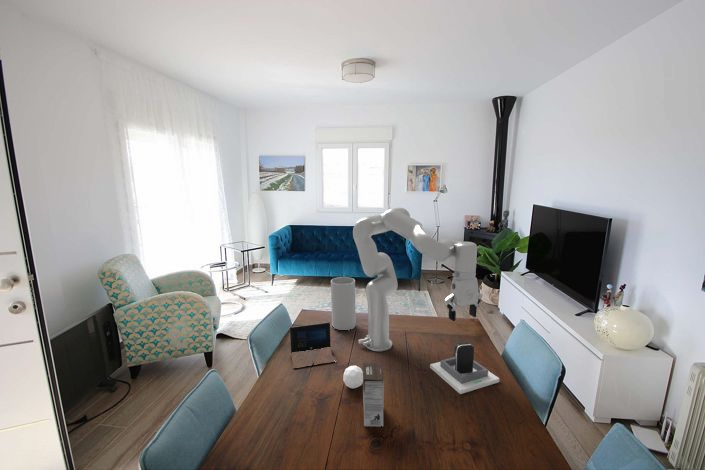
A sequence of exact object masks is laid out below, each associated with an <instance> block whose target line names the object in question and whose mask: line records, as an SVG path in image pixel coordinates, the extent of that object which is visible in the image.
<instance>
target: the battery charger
mask: <svg viewBox="0 0 705 470" xmlns="http://www.w3.org/2000/svg"><path fill="white" fill-rule="evenodd" d="M453 357H456V366H455V370H456V371H458V372H459V373H460V374H463V373H470V372H473V361H474V360H475V359H474V358H475V347H474V345H473V344H471V343H470V342H467V341H466V342H458V343H456V344H455V345H454V348H453Z"/></svg>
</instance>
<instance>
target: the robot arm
mask: <svg viewBox="0 0 705 470" xmlns="http://www.w3.org/2000/svg"><path fill="white" fill-rule="evenodd" d="M352 229H353V230H352V236H353V240H354V243H355V245H356V248H357V249H356V250H357V253H358V256H359V261H360V263H361V267H362V271H363V273H364V275H366V276H367V277H370V278H372V277H376V276H377V277H376V278H374V279H372V280H370V281H369V282H368V283H367V285H366V287H365V295H366V301H367V334H366V335H365V337H364V338H360V339H357V341H358V344H359V345H360V344H363V346H365V348H367V349H368V350H370V351H373V352H386V351H388V350H390V349H392V347H393V341H392V340H391V339H390V335H389V334H390V331H389V330H390V327H389V326H390V316H389V315H390V312H389V311H390V310H389V309H390V307H389V304H388V301H387V298H389V296H391V295H392V294H395V292H396V291H397V290H398V286H399V285H398V278H397V275H396V271H395V267H394V265H393V261H392V259H391V257H390V256H389V255H388V254H387V253H385V252H381V251H380V252H378V248H377V244H376V242H375V241H374V239H373V238H372V236H373V235H374V236H375V235H378V234H384V233H387V232H389V231H392V232H394V233H396V234H398V235H400V236H401V237H403V238H404V239H406V240H407V241H409V242H410V243H411V245H412V246H413V248H415V249H416V250H417V251H418V252H419V253H420V254H422V255H424V256H425V257H427V258H429V260H431V261H434V262H438V263H444V262H447V261H448V260H450V259H454V272H453V273H452V277H453V278H452V281H451V284H450V292H449V295H448V296H447V297H445V298H444V299H443V303H444V305H445V307H446V308H447V309H448V319H449V320H450V321H453V322H456V318H457V317H456V315H457V312H456V309H457V307H466V306H469V311H468V314H469V316H472V317H473V318H476V317H477V311H478V309H477V308H478V307H479V304H480V303H481V300H482V298H483V294H482V293H480V292H479V283H478V279H477V277H476V275H477V273H476V272H477V271H476V270H477V255H478V245H477V244H476V243H475V242H472V241H462V240H461V241H459V240H456V239H452V238H445V239H442V240H440V241H439V240H437V239H435V238H433V237H431V236H430V235H428V234H427V233H426V232H425V231H424V230H423V224H422V223H421V222H420V221H419V220H416V219H414V218H413V217H411V215H410V212H409V211H408V209H406V208H404V207H393V208H389V209H386V211H384V213H380V214H374V215H370V216H365V217H362V218H360V219H358V220H357V221H356V223H355V224H354V226H353V228H352Z"/></svg>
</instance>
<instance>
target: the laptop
mask: <svg viewBox="0 0 705 470" xmlns="http://www.w3.org/2000/svg"><path fill="white" fill-rule="evenodd" d="M289 340H290V343H289V344H290V354H292V352H298V353H299V351H304V352H305V351H306V350H311V351H312V350H314V349H317V350H318V349H321V348H327V347H330V348H332V347H331V346H332V345H331V344H332V343H331V341H332V340H331V322H330V321H329V322H321V323H313V324H305V325H299V326H297V325H296V326H292V327H291V326H290V327H289ZM334 361H335V360H334ZM335 363H337V360H336V361H335Z"/></svg>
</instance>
